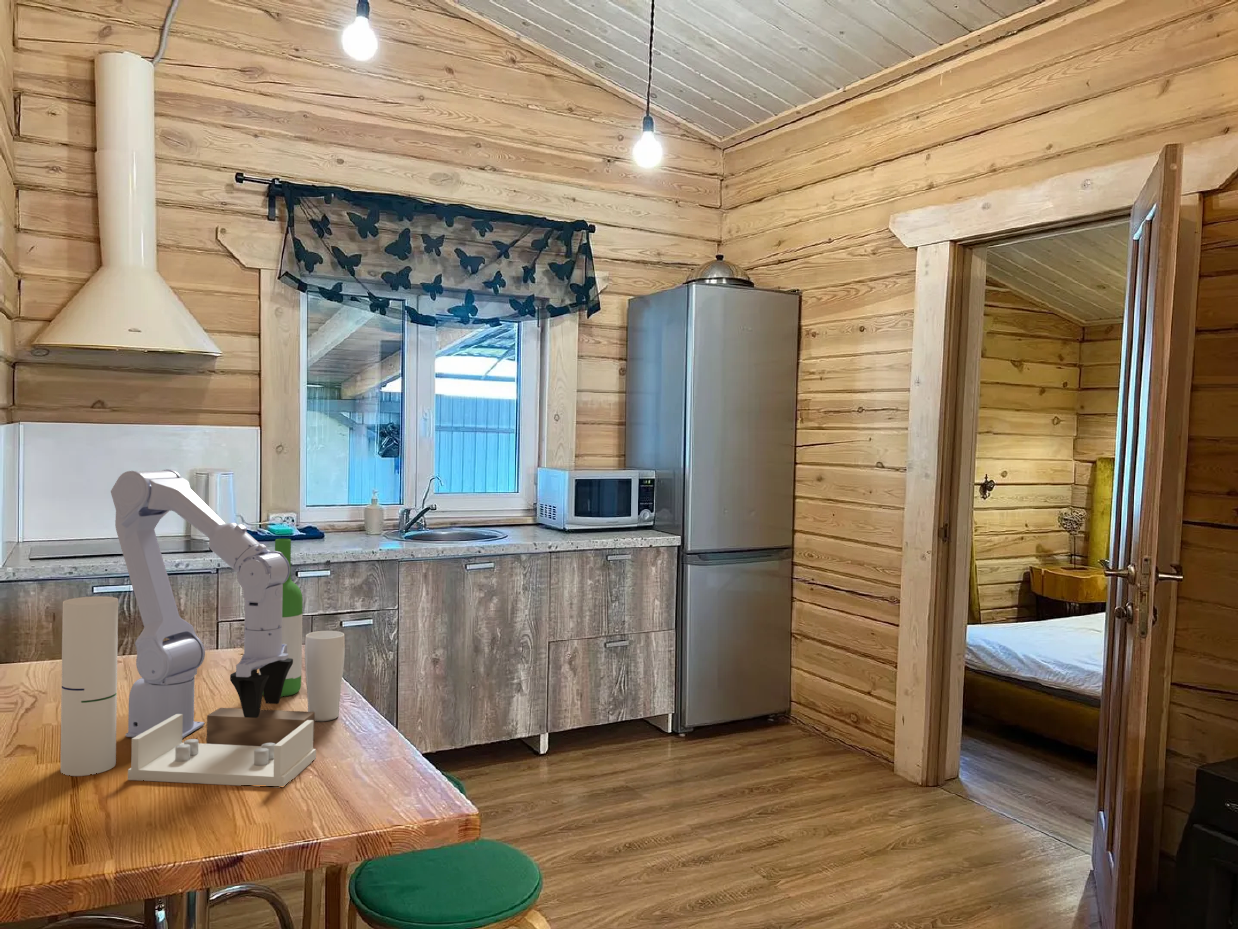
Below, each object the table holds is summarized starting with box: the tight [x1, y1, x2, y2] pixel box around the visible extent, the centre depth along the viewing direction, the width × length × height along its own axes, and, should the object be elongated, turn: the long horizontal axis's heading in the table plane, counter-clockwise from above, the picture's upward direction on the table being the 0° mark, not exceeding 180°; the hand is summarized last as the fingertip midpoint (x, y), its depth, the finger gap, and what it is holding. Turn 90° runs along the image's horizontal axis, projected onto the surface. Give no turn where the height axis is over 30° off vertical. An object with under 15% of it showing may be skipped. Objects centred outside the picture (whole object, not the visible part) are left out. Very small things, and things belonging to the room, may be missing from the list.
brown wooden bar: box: [206, 707, 316, 746], centre depth 149 cm, size 16×4×5 cm, turn 87°
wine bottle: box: [258, 538, 304, 698], centre depth 177 cm, size 8×8×30 cm
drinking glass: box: [304, 630, 346, 722], centre depth 162 cm, size 7×7×15 cm
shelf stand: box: [127, 714, 317, 786], centre depth 137 cm, size 23×12×6 cm, turn 87°
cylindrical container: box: [60, 595, 119, 777], centre depth 136 cm, size 7×7×25 cm
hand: (262, 710), depth 149 cm, fingers open, 7 cm apart
